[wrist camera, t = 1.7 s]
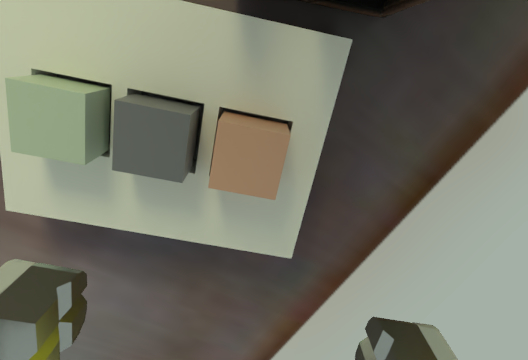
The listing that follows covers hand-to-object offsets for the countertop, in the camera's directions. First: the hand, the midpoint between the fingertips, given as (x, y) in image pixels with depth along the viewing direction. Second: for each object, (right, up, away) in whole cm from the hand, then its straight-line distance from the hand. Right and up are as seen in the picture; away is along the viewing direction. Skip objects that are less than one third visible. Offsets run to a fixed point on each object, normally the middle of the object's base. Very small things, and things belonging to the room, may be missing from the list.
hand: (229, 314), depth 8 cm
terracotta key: (0, +5, +13) cm, 14 cm away
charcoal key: (-5, +6, +13) cm, 15 cm away
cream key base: (-5, +7, +16) cm, 18 cm away
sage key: (-11, +7, +12) cm, 18 cm away
